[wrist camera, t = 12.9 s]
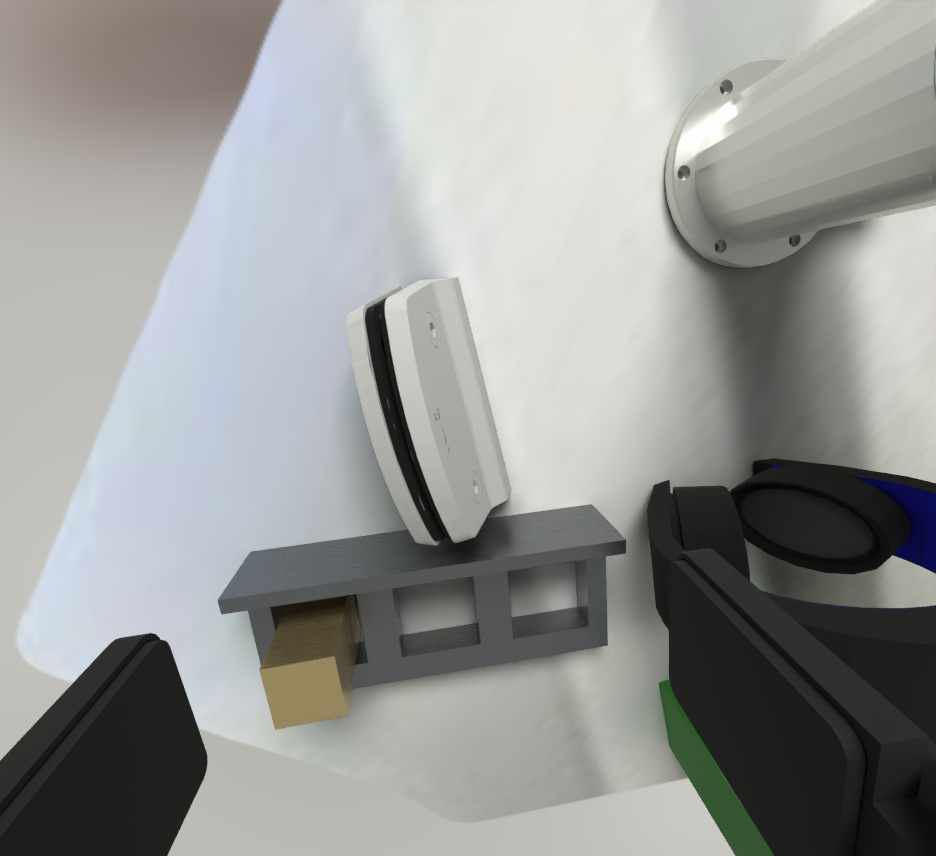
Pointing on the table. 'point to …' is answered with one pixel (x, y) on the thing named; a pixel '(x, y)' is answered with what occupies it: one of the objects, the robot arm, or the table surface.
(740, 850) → the hardback book
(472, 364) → the white game console
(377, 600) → the grey slotted rack
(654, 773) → the table surface
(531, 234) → the table surface
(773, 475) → the headphones
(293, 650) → the brass peg
